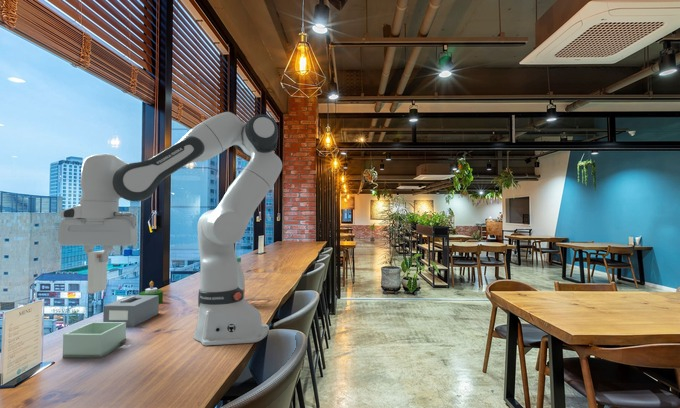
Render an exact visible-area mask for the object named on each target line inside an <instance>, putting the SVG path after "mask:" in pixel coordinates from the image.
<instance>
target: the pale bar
mask: <svg viewBox="0 0 680 408" xmlns="http://www.w3.org/2000/svg"><path fill="white" fill-rule="evenodd" d="M104 251H105V250H103V249H102V250H95V251H93V252H89V254H88V256H87V287H86V289H87V294H91V295H92V294H96V293H99V292H102V291H106V290H107V279H108V278H107V277H108V262H99V256H102V254H103V252H104Z"/></svg>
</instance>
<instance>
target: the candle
mask: <svg viewBox="0 0 680 408" xmlns="http://www.w3.org/2000/svg"><path fill="white" fill-rule="evenodd" d="M154 283H155V282H154V281H153V280H151V281H150V282H149V287H148V288H145V289H144V290H143V291H141V292H139V295H159V305H163V303H164V302H163V298H164V297H163V296H164V291H163V290H162V289H158V287H154Z"/></svg>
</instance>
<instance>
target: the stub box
mask: <svg viewBox="0 0 680 408" xmlns="http://www.w3.org/2000/svg"><path fill="white" fill-rule="evenodd" d="M126 338H127V326H126V322H103V321H92V322H91V321H90V322H89V323H87V324H84V325H82V326H79V327H77V328H75V329H72V330H71V331H67V332H66V333H64V334H62V358H66V359H67V358H69V359H71V358H72V359H102V358H103V357H105V356H107V355H108V354H110V353H112V352H113V351H115V350H117V349H118V348H120V347H122V346H124V345H126V341H124V340H125V339H126Z"/></svg>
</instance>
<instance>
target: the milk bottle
mask: <svg viewBox="0 0 680 408" xmlns="http://www.w3.org/2000/svg"><path fill="white" fill-rule="evenodd" d="M236 259H237V262H238V287H239V288H240V289H241V290H243V289H246V288H245V274H244V272H243V270H242V266H241V263H242V257H240V256H236ZM245 293H246V291H244V297H243V299H244V300H246V299H245V297H246V296H245Z"/></svg>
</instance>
